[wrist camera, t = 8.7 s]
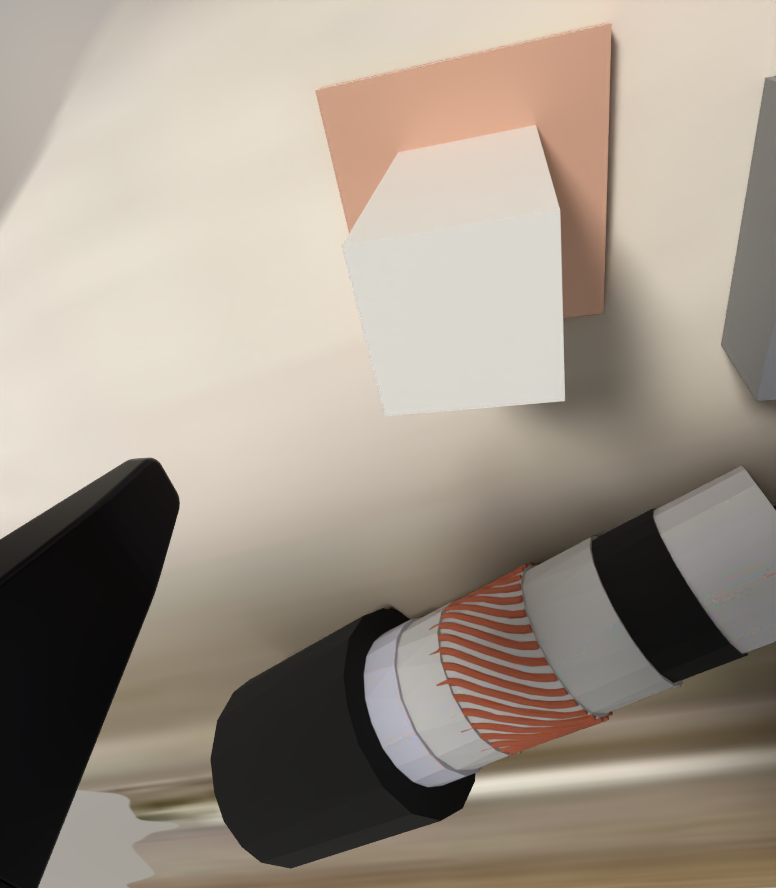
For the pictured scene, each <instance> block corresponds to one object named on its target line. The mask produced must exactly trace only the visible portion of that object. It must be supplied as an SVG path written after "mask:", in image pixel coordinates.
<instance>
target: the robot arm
mask: <svg viewBox="0 0 776 888" xmlns="http://www.w3.org/2000/svg"><path fill="white" fill-rule="evenodd" d="M179 505H180V502H179V496H178V493H177V491H176V490H175V488H174V486H173V484H172V483H171V481H170V479H169V477H168V476H167V474H166V472H165V470H164V469H163V467H162V465H161V464H160V462H158V461H157V460H156V459H154V458H138V459H130V460H128V461H126V462H124V463H123V464H121V465H119V466H118V467H116V468H115V469H113V470H111V471H110V472H108V473H106V474H105V475H103V476H102V477H100V478H98V479H97V480H95V481H94V482H92V483H90V484H89V485H87V486H86V487H84V488H82V489H81V490H79V491H77V492H76V493H74V494H73V495H71V496H69V497H68V498H66V499H65V500H63V501H61V502H60V503H58V504H57V505H55V506H53V507H52V508H50V509H49V510H47V511H45V512H44V513H42V514H40V515H39V516H37V517H36V518H34V519H32V520H31V521H29V522H28V523H26V524H24V525H23V526H21V527H20V528H18V529H16V530H15V531H13V532H11V533H10V534H8V535H7V536H5V537H3V538H2V539H0V888H38V886H39V884H40V881H41V878H42V876H43V874H44V871H45V869H46V866H47V864H48V861H49V859H50V856H51V854H52V851H53V849H54V846H55V844H56V841H57V839H58V836H59V834H60V831H61V828H62V826H63V823H64V821H65V818H66V816H67V813H68V811H69V808H70V806H71V803H72V801H73V798H74V796H75V793H76V791H77V788H78V786H79V783H80V781H81V778H82V776H83V773H84V771H85V768H86V766H87V763H88V761H89V758H90V756H91V753H92V751H93V748H94V746H95V743H96V741H97V738H98V735H99V733H100V730H101V728H102V725H103V723H104V720H105V718H106V715H107V713H108V710H109V708H110V705H111V703H112V700H113V698H114V695H115V693H116V690H117V688H118V685H119V683H120V680H121V678H122V675H123V673H124V670H125V668H126V665H127V663H128V660H129V658H130V655H131V652H132V650H133V647H134V645H135V642H136V640H137V637H138V635H139V632H140V630H141V627H142V625H143V622H144V620H145V617H146V615H147V612H148V610H149V607H150V605H151V602H152V599H153V597H154V594H155V591H156V588H157V585H158V582H159V578H160V575H161V571H162V568H163V564H164V561H165V557H166V554H167V550H168V547H169V543H170V540H171V536H172V533H173V529H174V526H175V522H176V519H177V515H178V512H179Z"/></svg>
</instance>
